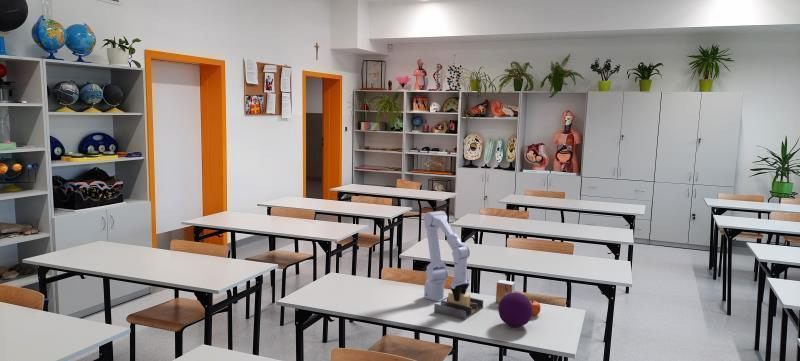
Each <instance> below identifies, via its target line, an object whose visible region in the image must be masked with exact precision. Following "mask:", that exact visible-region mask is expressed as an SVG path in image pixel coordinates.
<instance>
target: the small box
mask: <svg viewBox="0 0 800 361" xmlns="http://www.w3.org/2000/svg"><path fill="white" fill-rule="evenodd" d="M495 289H496V292H495V303H498V304H499V303H500V301H501V299H502V298H503V297H504V296H505V295H507V294H509V293H514V292H516V281H511V280H510V281H509V280H504V279H499V280H498V281H497V282H496V288H495Z"/></svg>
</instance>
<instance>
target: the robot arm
mask: <svg viewBox="0 0 800 361" xmlns="http://www.w3.org/2000/svg"><path fill="white" fill-rule="evenodd" d="M423 220H424V227H425V229H426V237H427V243H428V250H429V258H430V263H429V264H428V265H427V266H426V280H425V283H424V288H423V289H424V293H423V297H422V298H423V299H427V300H430V301H435V302H440V303H441V300H443V301H445V299H446V300H447V297H448V296H446V295H445V282H446V280H447V279H448V277H449V270H448V268H447V265H446V263H444V262H443V261H442V258H441V257H442V256H441V250H440V244H439V243H440V242H439V234H438V230H439V228H440V229H441V231H442V232H443V233H444V235H445V236H446V242H447V244H448V245H449V248H450V250H452V252H451V254H452V257H453V263H454V267H453V268H454V269H453V280H452V282H451V283H450V286H449V288H450V290H451V291H452V293H453V296H454V301H459V299H460V293H462V294H466V293H467V290H468V287H469V286H470V283H469V281H470V277H468V276H467V266H468V264H467V263H468V258H469V257H470V254H471V253H470V252H471V250H470V248H469V246H467V245H465V244H463V242H462V241H461V239H460V237H459V236H458V234H456V233H454V231H453V230H452V228H451V227H450V224H449V222H448V215H447V213H446V212H445V211H444V210H440V211H439V210H436V211H427V212H426V213H425V214H424V215H423Z"/></svg>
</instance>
